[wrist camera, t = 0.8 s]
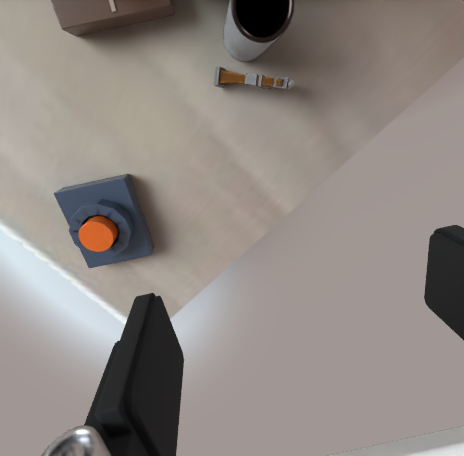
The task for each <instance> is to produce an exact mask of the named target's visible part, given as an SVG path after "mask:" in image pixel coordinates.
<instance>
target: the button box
mask: <svg viewBox="0 0 464 456" xmlns="http://www.w3.org/2000/svg"><path fill="white" fill-rule="evenodd" d="M54 195H55V197H56V199H57V201H58V203H59V205H60V208H61V210H62V212H63V214H64V216H65V218H66V220H67V222H68V225H69V227H70V228H69V232H70V235H71V237H72V239H73V241H74V243H75V245H76V246H78V247H79V248H80V250H81V252H82V254H83V256H84V259H85V261H86V263H87V265H88V267H89V268H93V267H98V266H102V265H107V264H112V263H116V262H121V261H126V260H130V259H135V258H140V257H144V256H149V255H151V254H152V252H153V249H154V245H153V242H152V239H151V237H150V234H149V231H148V228H147V225H146V222H145V219H144V216H143V214H142V211H141V208H140V205H139V202H138V199H137V196H136V194H135V191H134V188H133V185H132V182H131V179H130V176H129V174H125V175H120V176H116V177H111V178H106V179H102V180H97V181H92V182H88V183H83V184H79V185H74V186H69V187H65V188H62V189H60V190H58V191H57V192H55V193H54ZM96 216H102V217H106V218H108V219H110V220H111V221H112V222H113V223H114V224H115V225H116V227H117V231H118V235H117V238H116V240H115V241H114V243H113V244H112V246H111V247H110V248H109V249H107V250H105V251H102V252H95V251H91V250H89V249H87V248H86V247H85V246H83V244H82V243H81V241H80V239H79V230H80V228H81V227H82V226H83V225H84V224H85V223H86V222H87V221H88V220H89V219H90V218H92V217H96Z"/></svg>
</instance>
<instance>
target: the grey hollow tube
mask: <svg viewBox="0 0 464 456" xmlns="http://www.w3.org/2000/svg"><path fill="white" fill-rule="evenodd" d="M293 12H294V0H230V3H229V7H228V12H227V16H226V20H225V25H224V30H223V40H224V44H225V47H226V49H227V51H228V52H229V54H230V55H231V56H232V57H234V58H235V59H237V60H239V61H250V60H253V59H255V58H257V57H258V56H259V55H260V54H261V53H262V52H264V51H265V50H266V49H267V48H268V47H269V46H270V45H271V44H272V43H273V42H275V41H276V40H277V39H278V38H279V37H280V36H281V35H282V34H283V33H284V32H285V31H286V29H287V28H288V26H289V24H290V22H291V19H292V16H293Z"/></svg>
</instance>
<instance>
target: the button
mask: <svg viewBox="0 0 464 456" xmlns="http://www.w3.org/2000/svg"><path fill="white" fill-rule="evenodd" d="M117 235H118V231H117V227H116V225H115V224H114V223H113V222H112V221H111V220H110V219H108V218H106V217H102V216H96V217H92V218H90V219H89V220H88V221H87V222H86V223H85V224H84V225H83V226H82V227H81V228H80V230H79V239H80V241H81V243H82V244H83V246H85V247H86V248H87V249H89V250H91V251H95V252H102V251H105V250H107V249H109V248H110V247H111V246H112V244H113V243H114V241H115V240H116V238H117Z"/></svg>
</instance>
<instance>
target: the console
mask: <svg viewBox="0 0 464 456" xmlns="http://www.w3.org/2000/svg"><path fill="white" fill-rule="evenodd" d="M51 1H52V4H53V7H54V10H55V12H56V15H57V18H58V20H59V23H60V26H61V28H62V29H63V30H65V31H67V32H69V33H70V34H72V35H74V36H79V35H83V34H88V33H93V32H97V31H102V30H106V29H111V28H116V27H120V26H125V25H129V24H134V23H139V22H143V21H148V20H152V19H157V18H162V17H166V16H171V15H174V14H175V13H174V9H173V5H172V0H51Z"/></svg>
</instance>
